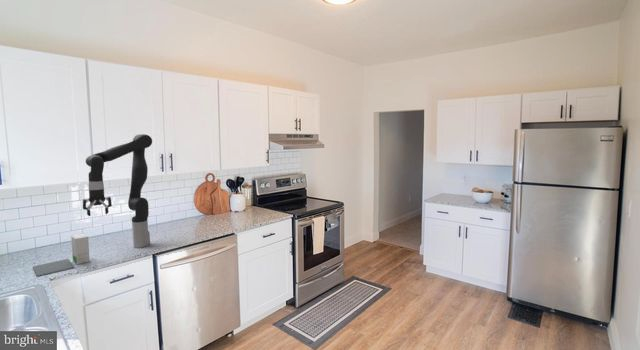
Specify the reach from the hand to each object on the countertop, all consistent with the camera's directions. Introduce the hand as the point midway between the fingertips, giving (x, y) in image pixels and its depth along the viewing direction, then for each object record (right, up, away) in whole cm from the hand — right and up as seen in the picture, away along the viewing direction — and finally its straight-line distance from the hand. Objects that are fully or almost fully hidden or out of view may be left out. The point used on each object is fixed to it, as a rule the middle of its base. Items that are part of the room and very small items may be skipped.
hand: (98, 214), depth 197 cm
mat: (-15, -28, -14) cm, 35 cm away
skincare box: (-6, -27, -5) cm, 28 cm away
